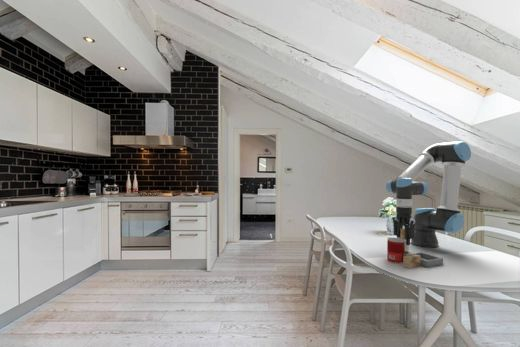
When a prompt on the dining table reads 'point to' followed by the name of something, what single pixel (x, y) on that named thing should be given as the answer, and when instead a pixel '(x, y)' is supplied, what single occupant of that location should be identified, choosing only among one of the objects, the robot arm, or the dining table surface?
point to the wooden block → (411, 261)
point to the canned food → (395, 250)
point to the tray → (428, 259)
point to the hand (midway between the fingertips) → (403, 249)
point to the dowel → (402, 234)
